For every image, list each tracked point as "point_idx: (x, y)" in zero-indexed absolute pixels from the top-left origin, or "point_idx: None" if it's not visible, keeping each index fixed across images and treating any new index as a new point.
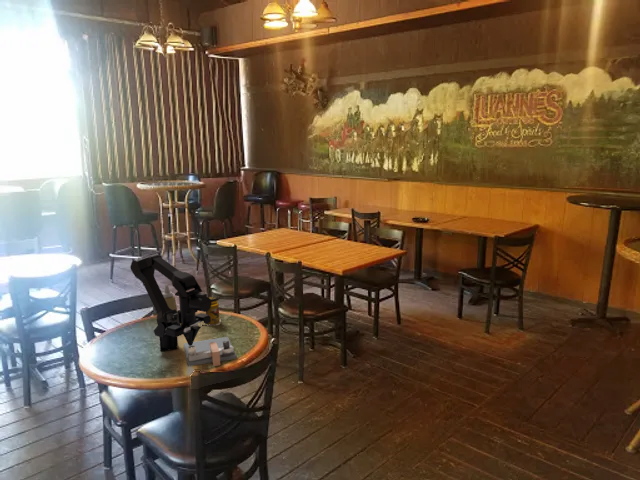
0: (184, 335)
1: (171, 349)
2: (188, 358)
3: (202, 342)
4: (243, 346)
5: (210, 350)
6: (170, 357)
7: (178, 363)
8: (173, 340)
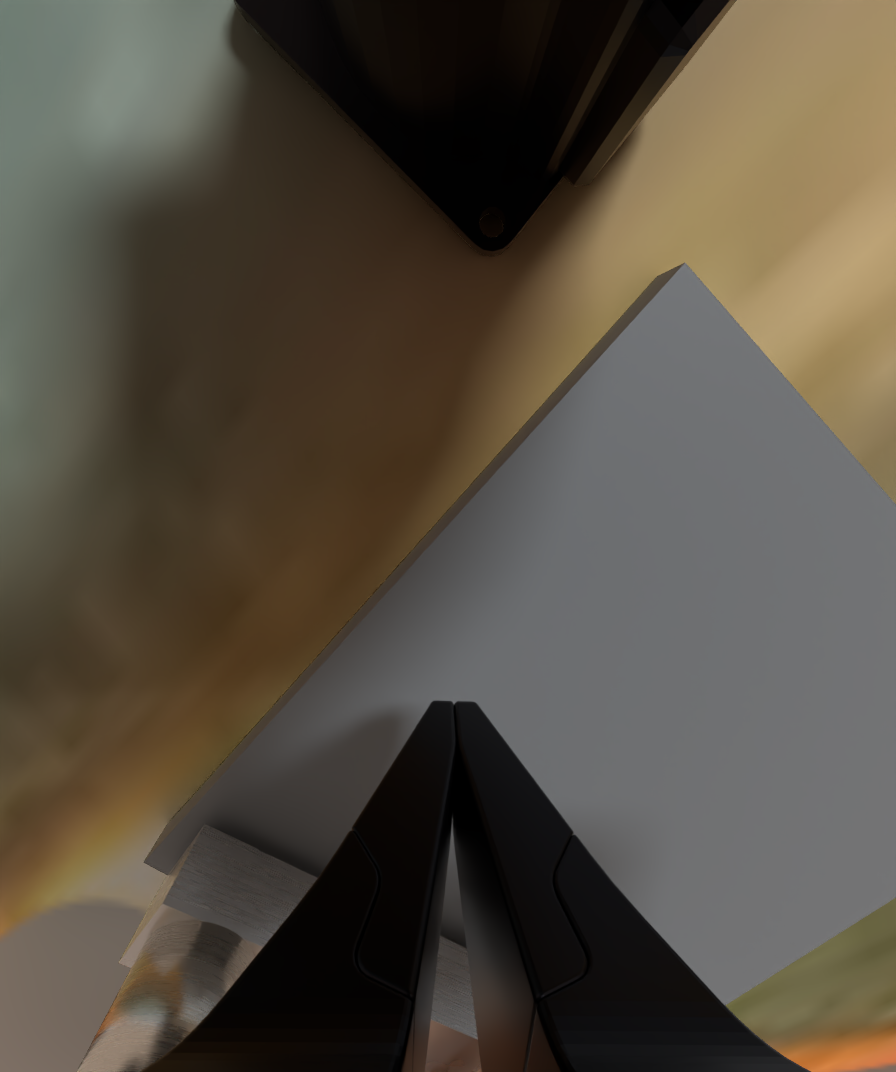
0: (279, 968)
1: (408, 182)
2: (181, 861)
3: (821, 576)
4: (868, 965)
5: (450, 1046)
6: (192, 429)
7: (142, 681)
8: (525, 57)
